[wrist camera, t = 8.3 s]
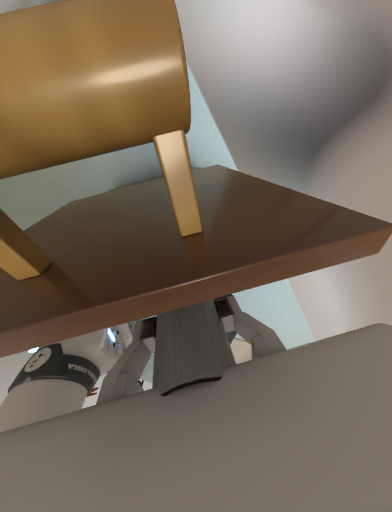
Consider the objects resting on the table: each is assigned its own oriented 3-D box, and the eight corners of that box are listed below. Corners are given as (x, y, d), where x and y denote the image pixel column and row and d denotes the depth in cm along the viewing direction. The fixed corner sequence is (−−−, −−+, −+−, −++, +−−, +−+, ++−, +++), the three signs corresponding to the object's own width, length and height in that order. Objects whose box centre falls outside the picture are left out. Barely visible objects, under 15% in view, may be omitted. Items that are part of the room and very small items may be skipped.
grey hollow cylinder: (210, 261, 16) (262, 379, 7) (192, 292, 18) (217, 416, 9) (168, 248, 14) (171, 378, 6) (154, 283, 16) (139, 423, 7)
